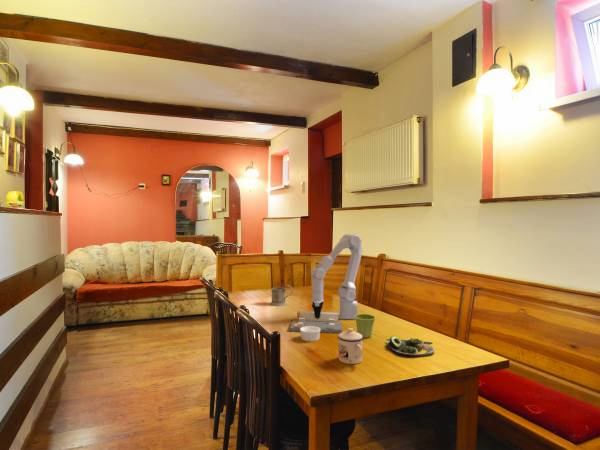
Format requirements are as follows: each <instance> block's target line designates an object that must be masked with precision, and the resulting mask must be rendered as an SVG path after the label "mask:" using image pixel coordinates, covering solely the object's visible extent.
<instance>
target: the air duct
mask: <svg viewBox="0 0 600 450" xmlns="http://www.w3.org/2000/svg"><path fill="white" fill-rule="evenodd" d="M299 318H305V321H311V322H329V319H334V322H339V311H321V313H320V318H319V319H318V318H315V314H314V310H313V311H312V310H297V311H296V321H299Z"/></svg>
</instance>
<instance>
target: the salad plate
mask: <svg viewBox="0 0 600 450" xmlns="http://www.w3.org/2000/svg"><path fill="white" fill-rule="evenodd" d="M433 343H434V342H432V341H431V342H430V341H423V338H422V339H419V338H412V337H410V338H409V339H408V338H407V339H401V338H400V337H398V336H397V335H391V336H390V338H387V339H386V343H385V344H386V347H387V349H388V350H389V351H390V352H392V353H393V354H395V355H397V356H400V357H405V358H417V357H425V356H428V355H429V356H430V355H432V354H434V353H435V351H436V350H435V348H433V347H431V346H430V345H433ZM422 349H423V350H422ZM418 350H419V351H424V350H425V353H419V351H418ZM426 351H427V352H426Z"/></svg>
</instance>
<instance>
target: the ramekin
mask: <svg viewBox="0 0 600 450" xmlns="http://www.w3.org/2000/svg"><path fill="white" fill-rule="evenodd" d="M300 331H301V332H300V339H301V340H302V341H304V342H305V341H306V342H316V341H318V340H319V339H320V334H321V332H320V328H319V327H315V326H305V327H302V328H300Z"/></svg>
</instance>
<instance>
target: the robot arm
mask: <svg viewBox="0 0 600 450" xmlns="http://www.w3.org/2000/svg"><path fill="white" fill-rule="evenodd" d="M346 249H349V251H350V258H349V262H348V265H347V269H346V273H345V278H344V281H343V282H342V283H341V284H340V286H339V288H338V290H337V296H338V297H339V313H338V320H339V319H340V320H355V317H354V316H355V315H357V314H359V311H358V300H356V296H357V295H356V294H357V293H356V290H357V287H356V285H355V282H356V278H357V274H358V271H359V267H360V263H361V258H362V255H363V248H362V239H361V238H360V236H359V235H358V234H350V233H345V234H343V236H342V237H341V238H339V240H338V243H336V245H335V246H334V248H333V249H332V250H331V252H330V253H329V254H328V255H325V256H322V257H321V260H320V261H319V262H318V263H317V264H316V265H315V267H314V266H313V268H312V269H311V270H310V272H309V275H310V276H311V278H312V279H311V281H312V283H311V298H309V301H310V302H312V304H311V307H312V310H313V311H314V314H315V318H318V319H319V318H320V313H321V312H322V309H323V306H324V301H325V300H324V278H326V275H327V274H326V272H328V270H329V269H330V268H331V267H332V266H333V265H334V263H335V262H334V261H335V259H336V257H338V256H339V255H340V253H341V252H342V251H343V250H346Z"/></svg>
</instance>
